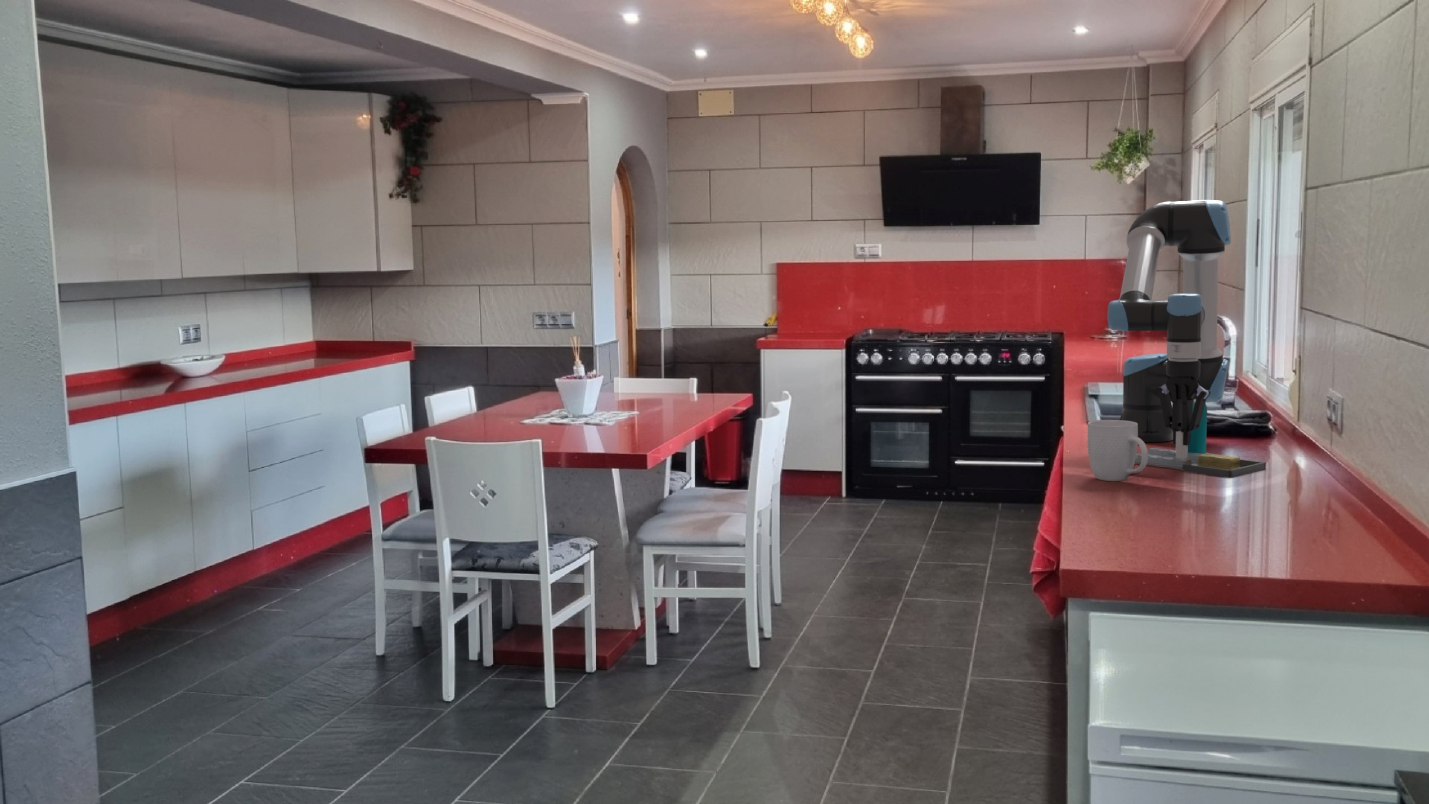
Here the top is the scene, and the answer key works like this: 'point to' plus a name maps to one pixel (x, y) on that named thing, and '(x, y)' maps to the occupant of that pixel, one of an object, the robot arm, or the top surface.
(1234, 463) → the tan cardboard cube
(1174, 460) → the slot board
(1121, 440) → the mug
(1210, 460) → the tan block
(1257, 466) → the tray
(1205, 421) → the beverage can
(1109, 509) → the top surface
